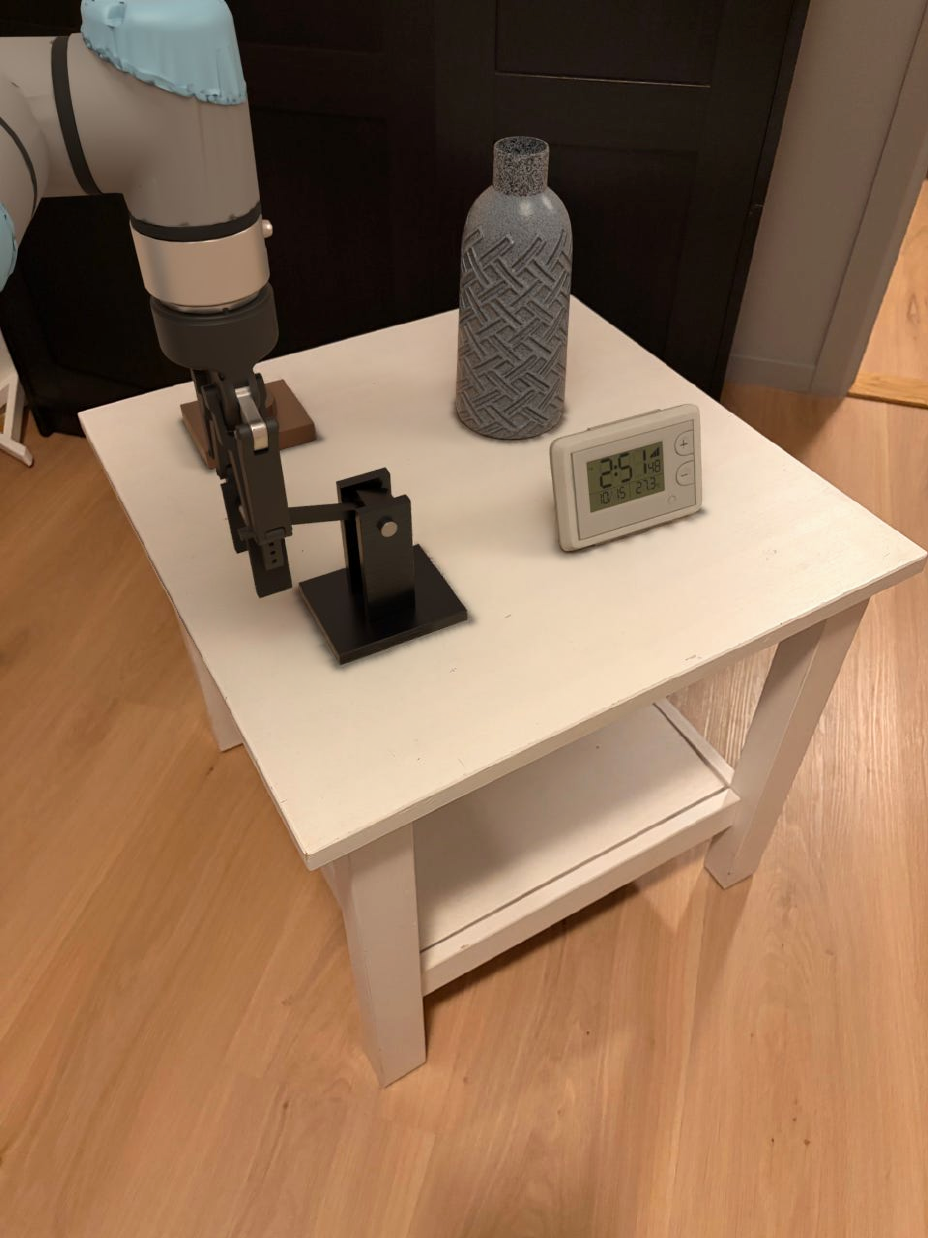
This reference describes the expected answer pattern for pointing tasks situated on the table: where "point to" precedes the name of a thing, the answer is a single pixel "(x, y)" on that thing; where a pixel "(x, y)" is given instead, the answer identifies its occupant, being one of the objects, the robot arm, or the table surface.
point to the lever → (331, 508)
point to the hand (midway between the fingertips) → (262, 567)
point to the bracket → (379, 579)
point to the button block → (278, 404)
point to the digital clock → (626, 476)
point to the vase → (514, 298)
